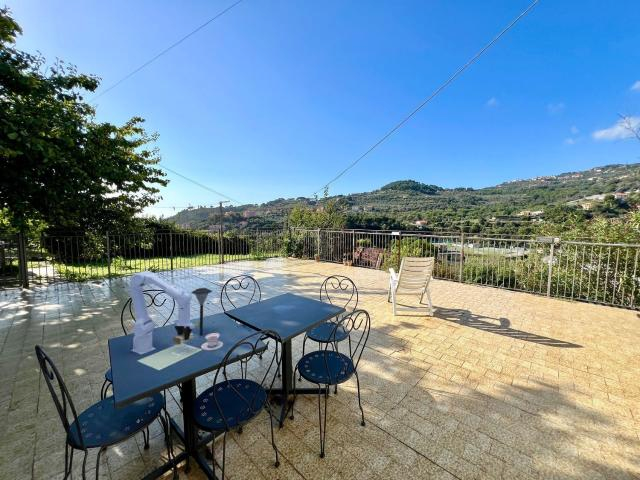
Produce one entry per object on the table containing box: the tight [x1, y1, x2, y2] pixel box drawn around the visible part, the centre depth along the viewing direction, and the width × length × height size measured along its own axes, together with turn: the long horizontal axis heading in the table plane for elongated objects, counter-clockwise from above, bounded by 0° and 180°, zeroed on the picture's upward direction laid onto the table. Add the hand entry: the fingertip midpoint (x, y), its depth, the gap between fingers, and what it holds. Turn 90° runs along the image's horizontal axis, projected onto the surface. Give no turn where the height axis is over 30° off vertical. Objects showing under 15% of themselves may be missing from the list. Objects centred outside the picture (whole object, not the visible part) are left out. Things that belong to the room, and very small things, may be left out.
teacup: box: [200, 332, 224, 351], centre depth 155 cm, size 12×12×6 cm
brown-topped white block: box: [172, 332, 194, 345], centre depth 147 cm, size 9×4×3 cm, turn 154°
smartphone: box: [185, 322, 200, 330], centre depth 182 cm, size 7×1×15 cm
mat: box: [137, 342, 203, 371], centre depth 142 cm, size 18×25×1 cm
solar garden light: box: [190, 287, 213, 337], centre depth 169 cm, size 12×12×30 cm
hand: (183, 338), depth 147 cm, fingers closed on brown-topped white block, 4 cm apart
